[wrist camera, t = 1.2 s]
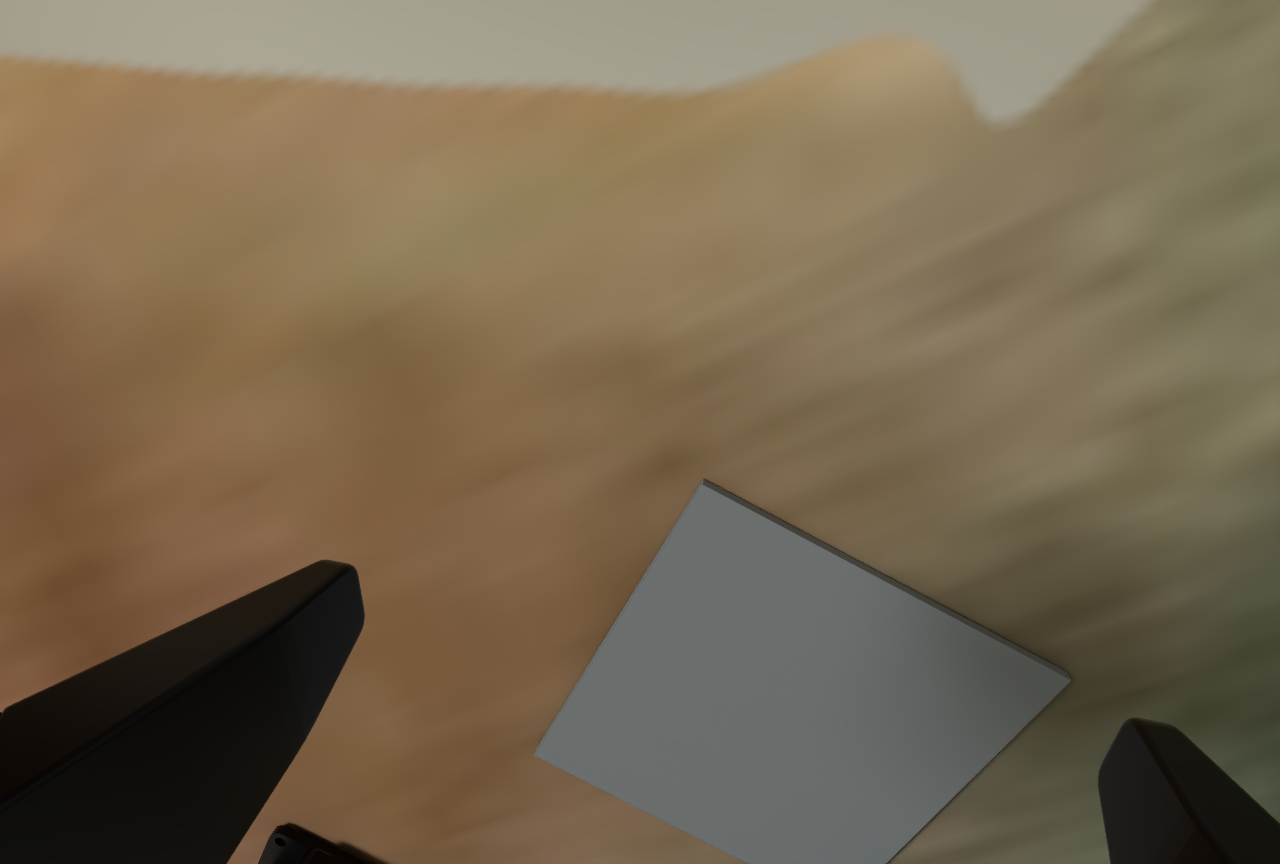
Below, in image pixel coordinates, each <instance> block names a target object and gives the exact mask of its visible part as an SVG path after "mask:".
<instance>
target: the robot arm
mask: <svg viewBox="0 0 1280 864" xmlns="http://www.w3.org/2000/svg"><path fill="white" fill-rule="evenodd" d="M364 617H365V614H364V606H363V600H362V595H361V589H360V583H359V577H358V573H357V570H356V569H355V567H354V566H352V565H350V564H347V563H342V562H337V561H332V560H320V561H318V562H315V563H313V564H311V565H309V566H307V567H305V568H303V569H300V570H298V571H296V572H294V573H292V574H290V575H288V576H285V577H283V578H281V579H279V580H277V581H275V582H273V583H271V584H268V585H266V586H264V587H262V588H260V589H258V590H256V591H253V592H251V593H249V594H247V595H245V596H243V597H241V598H239V599H236V600H234V601H232V602H230V603H228V604H226V605H224V606H221V607H219V608H217V609H215V610H213V611H211V612H209V613H207V614H204V615H202V616H200V617H198V618H196V619H194V620H192V621H189V622H187V623H185V624H183V625H181V626H179V627H177V628H175V629H172V630H170V631H168V632H166V633H164V634H162V635H160V636H157V637H155V638H153V639H151V640H149V641H147V642H145V643H143V644H140V645H138V646H136V647H134V648H132V649H130V650H128V651H125V652H123V653H121V654H119V655H117V656H115V657H113V658H110V659H108V660H106V661H104V662H102V663H100V664H98V665H95V666H93V667H91V668H89V669H87V670H85V671H83V672H81V673H78V674H76V675H74V676H72V677H70V678H68V679H66V680H63V681H61V682H59V683H57V684H55V685H53V686H51V687H48V688H46V689H44V690H42V691H40V692H38V693H36V694H34V695H31V696H29V697H27V698H25V699H23V700H21V701H19V702H16V703H14V704H12V705H10V706H8V707H6V708H5V709H4V711H3V712H2V713H1V712H0V864H227V862H228V861H229V859H230V857H231V856H232V854H233V853H234V851H235V850H236V848H237V847H238V845H239V843H240V842H241V840H242V839H243V837H244V836H245V834H246V833H247V831H248V829H249V828H250V826H251V825H252V823H253V822H254V820H255V819H256V817H257V815H258V814H259V812H260V811H261V809H262V808H263V806H264V805H265V803H266V801H267V800H268V798H269V797H270V795H271V794H272V792H273V791H274V789H275V787H276V786H277V784H278V783H279V781H280V780H281V778H282V777H283V775H284V773H285V772H286V770H287V769H288V767H289V766H290V764H291V763H292V761H293V759H294V758H295V756H296V755H297V753H298V751H299V750H300V748H301V746H302V745H303V743H304V741H305V740H306V738H307V736H308V734H309V733H310V731H311V729H312V727H313V725H314V723H315V722H316V720H317V718H318V716H319V714H320V712H321V710H322V708H323V706H324V704H325V702H326V700H327V698H328V696H329V694H330V692H331V690H332V688H333V686H334V684H335V682H336V680H337V678H338V676H339V674H340V672H341V670H342V669H343V667H344V665H345V663H346V661H347V659H348V657H349V655H350V653H351V651H352V649H353V647H354V645H355V643H356V641H357V639H358V637H359V635H360V633H361V631H362V628H363V624H364ZM1098 788H1099V795H1100V801H1101V808H1102V814H1103V820H1104V826H1105V832H1106V838H1107V844H1108V850H1109V856H1110V863H1111V864H1280V823H1279V822H1277V821H1276V820H1275V819H1274V818H1273V817H1272V816H1271V815H1270V814H1269V813H1268V812H1267V811H1266V810H1265V809H1264V808H1262V807H1261V806H1260V805H1259V804H1258V803H1257V802H1256V801H1255V800H1254V799H1253V798H1252V797H1251V796H1250V795H1249V794H1247V793H1246V792H1245V791H1244V790H1243V789H1242V788H1241V787H1240V786H1239V785H1238V784H1237V783H1236V782H1235V781H1234V780H1232V779H1231V778H1230V777H1229V776H1228V775H1227V774H1226V773H1225V772H1224V771H1223V770H1222V769H1221V768H1220V767H1219V766H1217V765H1216V764H1215V763H1214V762H1213V761H1212V760H1211V759H1210V758H1209V757H1208V756H1207V755H1206V754H1205V753H1204V752H1202V751H1201V750H1200V749H1199V748H1198V747H1197V746H1196V745H1195V744H1194V743H1193V742H1192V741H1191V740H1190V739H1189V738H1188V737H1186V736H1185V735H1184V734H1183V733H1182V732H1181V731H1180V730H1178V729H1177V728H1176V727H1174V726H1172V725H1169V724H1166V723H1161V722H1156V721H1151V720H1146V719H1141V718H1130V719H1128V720H1127V721H1125V722H1124V723H1123V725H1122V726H1121V728H1120V730H1119V732H1118V734H1117V736H1116V738H1115V739H1114V741H1113V743H1112V745H1111V747H1110V749H1109V751H1108V753H1107V755H1106V756H1105V758H1104V760H1103V762H1102V764H1101V767H1100V770H1099V776H1098ZM258 864H363V863H361V862H359V861H357V860H355V859H353V858H351V857H349V856H347V855H345V854H343V853H341V852H339V851H337V850H334V849H332V848H330V847H328V846H326V845H324V844H322V843H320V842H318V841H316V840H314V839H312V838H310V837H308V836H306V835H304V834H302V833H300V832H298V831H296V830H294V829H292V828H290V827H287V826H284V825H280V826H277V827H276V828H275V830H274V831H273V833H272V834H271V835H270V837H269V839H268V842H267V844H266V846H265V849H264V851H263V853H262V856H261V858H260V860H259V863H258Z"/></svg>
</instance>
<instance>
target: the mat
mask: <svg viewBox="0 0 1280 864" xmlns="http://www.w3.org/2000/svg"><path fill="white" fill-rule="evenodd" d="M1071 681H1072V680H1071V678H1070V677H1069V675H1068V673H1067V672H1066V671H1064V670H1062V669H1061V668H1059V667H1057V666H1055V665H1053V664H1051V663H1049V662H1047V661H1045V660H1044V659H1042V658H1040V657H1038V656H1036V655H1034V654H1032V653H1030V652H1029V651H1027V650H1025V649H1023V648H1021V647H1019V646H1017V645H1015V644H1013V643H1012V642H1010V641H1008V640H1006V639H1004V638H1002V637H1000V636H998V635H997V634H995V633H993V632H991V631H989V630H987V629H985V628H983V627H981V626H980V625H978V624H976V623H974V622H972V621H970V620H968V619H966V618H965V617H963V616H961V615H959V614H957V613H955V612H953V611H951V610H949V609H948V608H946V607H944V606H942V605H940V604H938V603H936V602H934V601H933V600H931V599H929V598H927V597H925V596H923V595H921V594H919V593H917V592H916V591H914V590H912V589H910V588H908V587H906V586H904V585H902V584H901V583H899V582H897V581H895V580H893V579H891V578H889V577H887V576H885V575H884V574H882V573H880V572H878V571H876V570H874V569H872V568H870V567H869V566H867V565H865V564H863V563H861V562H859V561H857V560H855V559H853V558H852V557H850V556H848V555H846V554H844V553H842V552H840V551H838V550H837V549H835V548H833V547H831V546H829V545H827V544H825V543H823V542H821V541H820V540H818V539H816V538H814V537H812V536H810V535H808V534H806V533H805V532H803V531H801V530H799V529H797V528H795V527H793V526H791V525H789V524H788V523H786V522H784V521H782V520H780V519H778V518H776V517H774V516H773V515H771V514H769V513H767V512H765V511H763V510H761V509H759V508H757V507H756V506H754V505H752V504H750V503H748V502H746V501H744V500H742V499H741V498H739V497H737V496H735V495H733V494H731V493H729V492H727V491H726V490H724V489H722V488H720V487H718V486H716V485H714V484H712V483H710V482H709V481H707V480H705V479H703V480H702V482H701V484H700V485H699V487H698V488H697V490H696V492H695V493H694V495H693V497H692V498H691V500H690V501H689V503H688V505H687V506H686V508H685V509H684V511H683V513H682V514H681V516H680V518H679V519H678V521H677V522H676V524H675V526H674V527H673V529H672V530H671V532H670V534H669V535H668V537H667V539H666V540H665V542H664V543H663V545H662V547H661V548H660V550H659V551H658V553H657V555H656V556H655V558H654V559H653V561H652V563H651V564H650V566H649V568H648V569H647V571H646V572H645V574H644V576H643V577H642V579H641V580H640V582H639V584H638V585H637V587H636V589H635V590H634V592H633V593H632V595H631V597H630V598H629V600H628V601H627V603H626V605H625V606H624V608H623V610H622V611H621V613H620V614H619V616H618V618H617V619H616V621H615V622H614V624H613V626H612V627H611V629H610V631H609V632H608V634H607V635H606V637H605V639H604V640H603V642H602V643H601V645H600V647H599V648H598V650H597V651H596V653H595V655H594V656H593V658H592V660H591V661H590V663H589V664H588V666H587V668H586V669H585V671H584V672H583V674H582V676H581V677H580V679H579V681H578V682H577V684H576V685H575V687H574V689H573V690H572V692H571V693H570V695H569V697H568V698H567V700H566V702H565V703H564V705H563V706H562V708H561V710H560V711H559V713H558V714H557V716H556V718H555V719H554V721H553V723H552V724H551V726H550V727H549V729H548V731H547V732H546V734H545V735H544V737H543V739H542V740H541V742H540V744H539V745H538V747H537V749H536V752H535V755H534V756H536V757H538V758H540V759H542V760H544V761H546V762H548V763H550V764H552V765H554V766H556V767H558V768H560V769H562V770H564V771H566V772H568V773H570V774H572V775H574V776H576V777H578V778H579V779H581V780H583V781H585V782H587V783H589V784H591V785H593V786H595V787H597V788H599V789H601V790H603V791H605V792H607V793H609V794H611V795H613V796H615V797H617V798H619V799H621V800H623V801H625V802H627V803H629V804H631V805H633V806H635V807H637V808H639V809H641V810H643V811H645V812H647V813H649V814H651V815H653V816H655V817H657V818H659V819H660V820H662V821H664V822H666V823H668V824H670V825H672V826H674V827H676V828H678V829H680V830H682V831H684V832H686V833H688V834H690V835H692V836H694V837H696V838H698V839H700V840H702V841H704V842H706V843H708V844H710V845H712V846H714V847H716V848H718V849H720V850H722V851H724V852H726V853H728V854H730V855H732V856H734V857H736V858H738V859H740V860H741V861H743V862H745V863H747V864H886V863H887V862H888V861H889V860H890V859H891V858H892V857H893V856H894V855H895V854H896V853H897V852H898V851H899V850H900V849H901V848H902V847H903V846H904V845H905V844H906V843H908V842H909V841H910V840H911V839H912V838H913V837H914V836H915V835H916V834H917V833H918V832H919V831H920V830H921V829H922V828H923V827H924V826H925V825H926V824H927V823H928V822H929V821H930V820H931V819H932V818H933V817H934V816H935V815H936V814H937V813H938V812H939V811H940V810H941V809H942V808H943V807H944V806H945V805H946V804H947V803H948V802H949V801H950V800H951V799H952V798H953V797H954V796H955V795H956V794H957V793H958V792H959V791H960V790H961V789H962V788H963V787H964V786H965V785H966V784H967V783H968V782H969V781H970V780H971V779H972V778H973V777H974V776H975V775H976V774H977V773H978V772H979V771H980V770H981V769H982V768H984V767H985V766H986V765H987V764H988V763H989V762H990V761H991V760H992V759H993V758H994V757H995V756H996V755H997V754H998V753H999V752H1000V751H1001V750H1002V749H1003V748H1004V747H1005V746H1006V745H1007V744H1008V743H1009V742H1010V741H1011V740H1012V739H1013V738H1014V737H1015V736H1016V735H1017V734H1018V733H1019V732H1020V731H1021V730H1022V729H1023V728H1024V727H1025V726H1026V725H1027V724H1028V723H1029V722H1030V721H1031V720H1032V719H1033V718H1034V717H1035V716H1036V715H1037V714H1038V713H1039V712H1040V711H1041V710H1042V709H1043V708H1044V707H1045V706H1046V705H1047V704H1048V703H1049V702H1050V701H1051V700H1052V699H1053V698H1054V697H1055V696H1056V695H1057V694H1058V693H1060V692H1061V691H1062V690H1063V689H1064V688H1065V687H1066V686H1067V685H1068V684H1069V683H1070V682H1071Z"/></svg>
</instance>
